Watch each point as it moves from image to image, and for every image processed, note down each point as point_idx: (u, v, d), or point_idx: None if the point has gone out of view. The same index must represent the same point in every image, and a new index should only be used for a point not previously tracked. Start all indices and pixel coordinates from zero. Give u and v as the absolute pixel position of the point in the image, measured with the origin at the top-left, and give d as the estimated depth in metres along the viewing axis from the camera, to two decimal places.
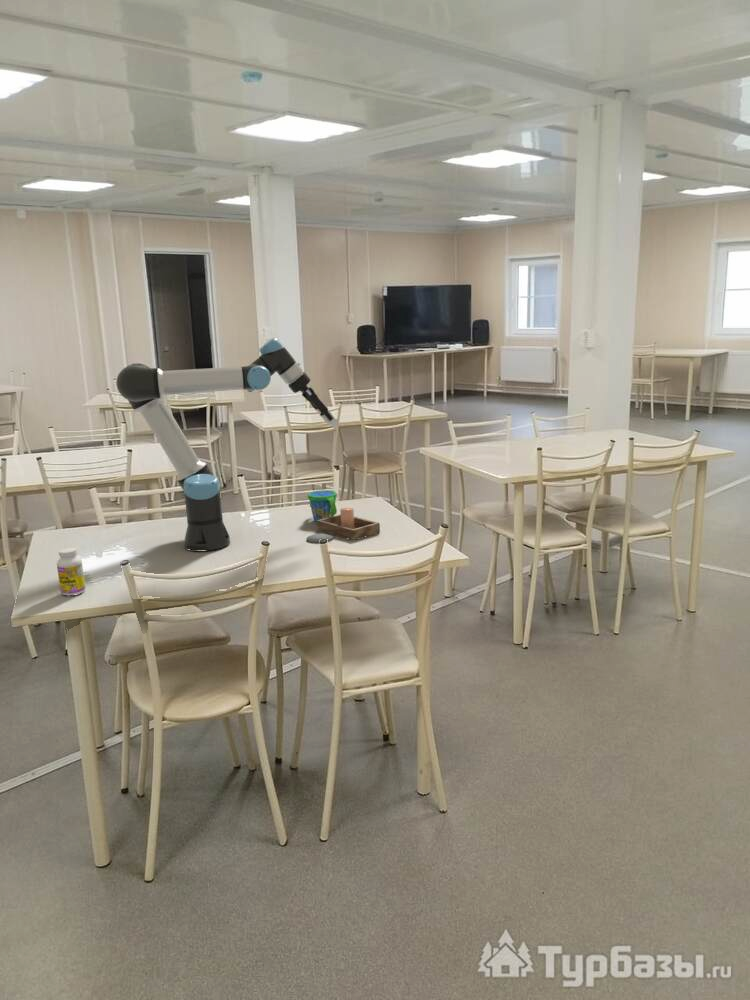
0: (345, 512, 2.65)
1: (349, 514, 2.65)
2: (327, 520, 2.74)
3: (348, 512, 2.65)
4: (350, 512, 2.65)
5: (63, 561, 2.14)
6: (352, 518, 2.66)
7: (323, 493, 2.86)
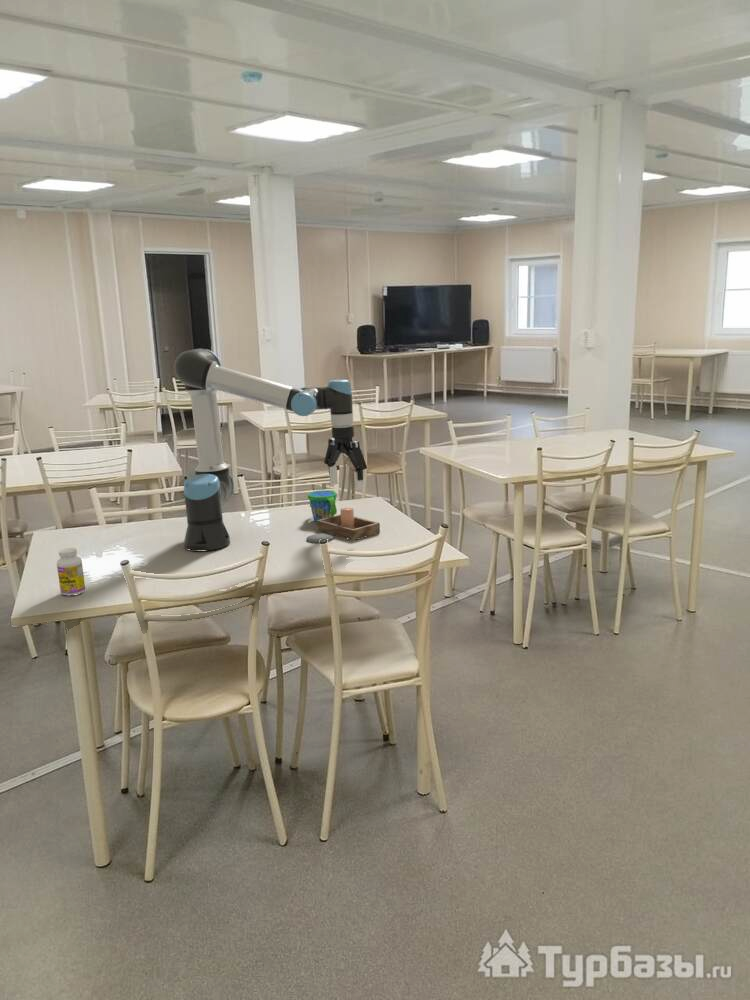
0: (345, 512, 2.65)
1: (349, 514, 2.65)
2: (327, 520, 2.74)
3: (348, 512, 2.65)
4: (350, 512, 2.65)
5: (63, 561, 2.14)
6: (352, 518, 2.66)
7: (323, 493, 2.86)
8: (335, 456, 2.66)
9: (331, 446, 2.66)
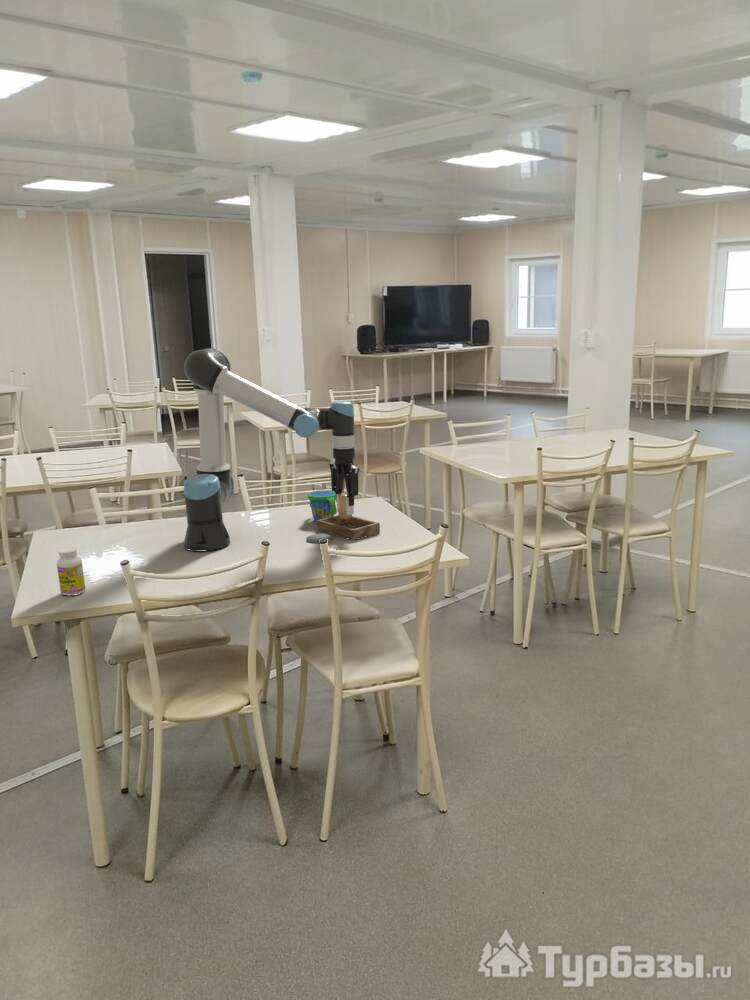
0: (343, 498, 2.64)
1: None
2: (327, 520, 2.74)
3: None
4: None
5: (63, 561, 2.14)
6: None
7: (323, 493, 2.86)
8: (339, 480, 2.66)
9: (333, 470, 2.67)
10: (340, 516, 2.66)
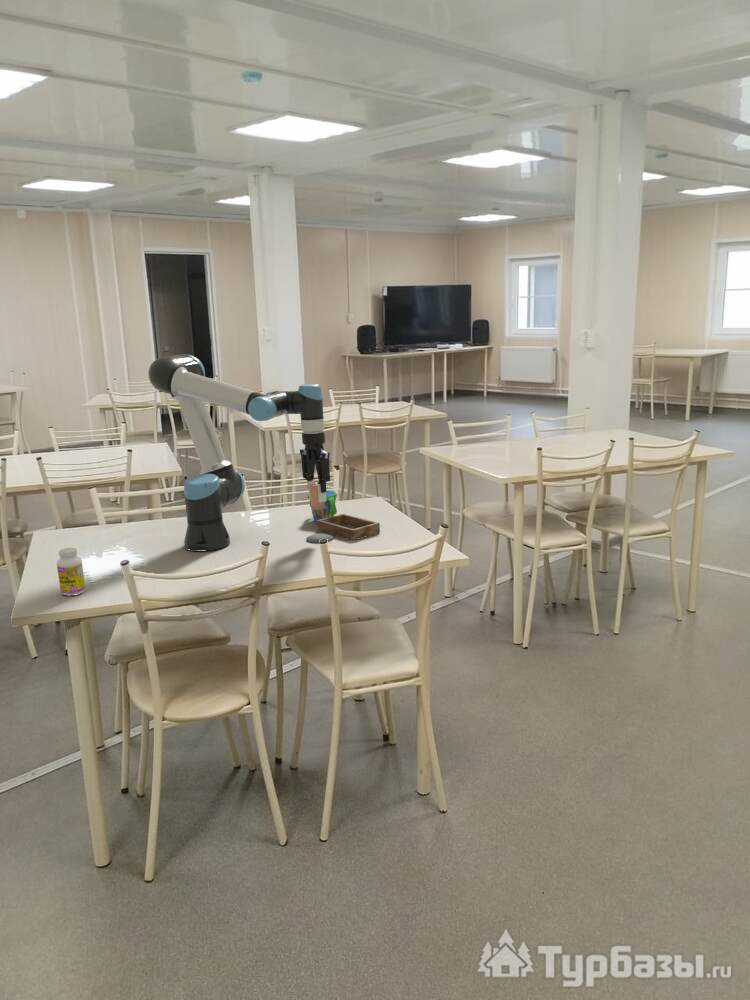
0: (314, 488, 2.54)
1: None
2: (327, 520, 2.74)
3: (317, 488, 2.54)
4: None
5: (63, 561, 2.14)
6: None
7: None
8: (310, 466, 2.56)
9: (304, 456, 2.57)
10: (312, 507, 2.57)
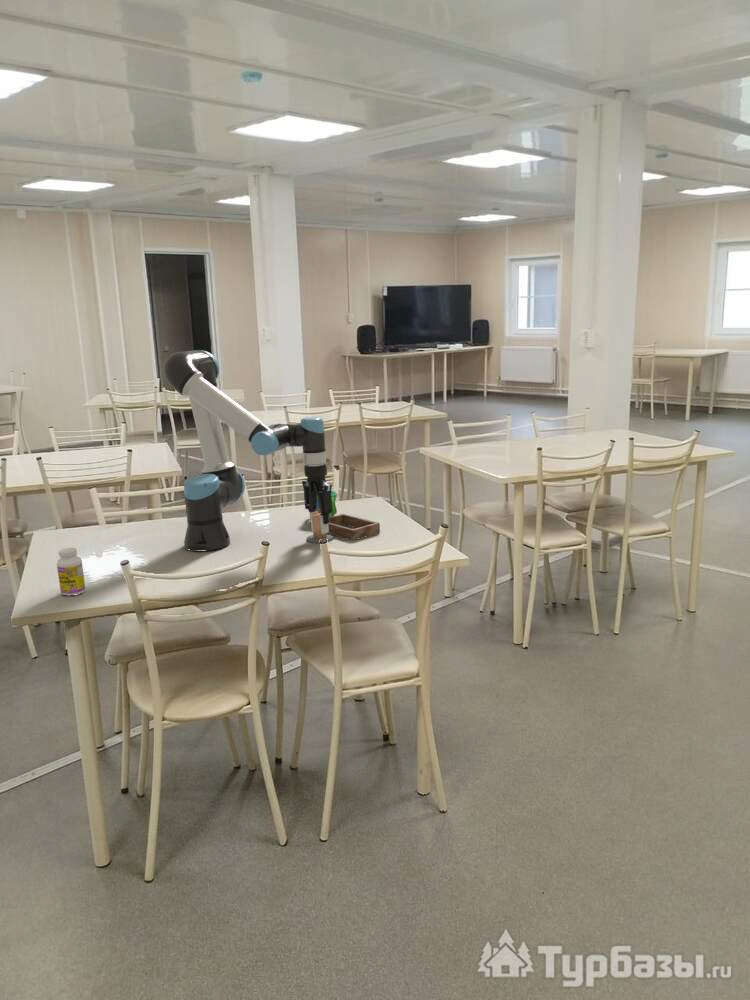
0: (316, 518, 2.57)
1: None
2: None
3: None
4: None
5: (63, 561, 2.14)
6: None
7: None
8: (312, 497, 2.59)
9: (306, 487, 2.60)
10: (315, 536, 2.59)
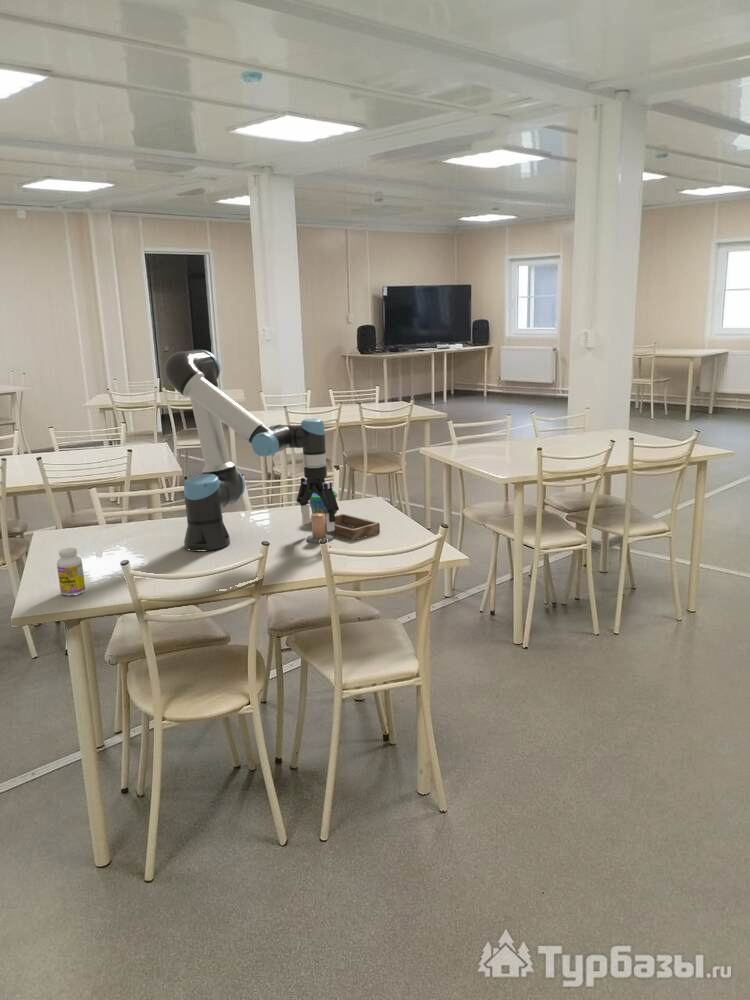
0: (316, 518, 2.57)
1: (320, 520, 2.57)
2: None
3: (319, 518, 2.57)
4: (321, 518, 2.57)
5: (63, 561, 2.14)
6: (323, 524, 2.58)
7: None
8: (307, 495, 2.60)
9: (304, 485, 2.61)
10: (314, 536, 2.59)
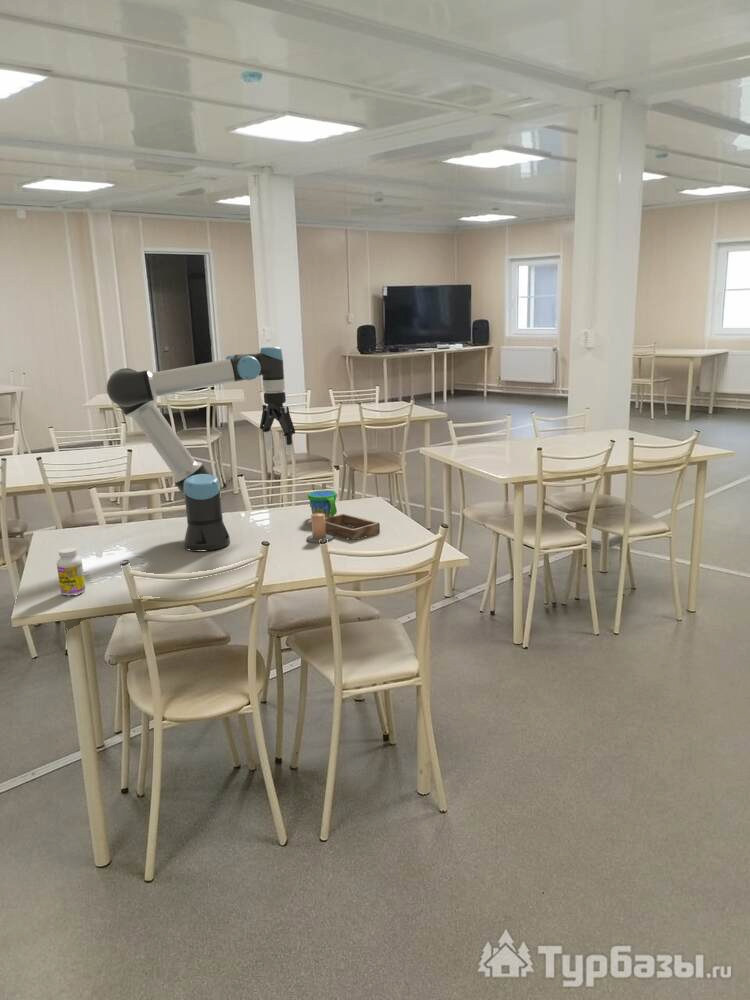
0: (316, 518, 2.57)
1: (320, 520, 2.57)
2: (327, 520, 2.74)
3: (319, 518, 2.57)
4: (321, 518, 2.57)
5: (63, 561, 2.14)
6: (323, 524, 2.58)
7: (323, 493, 2.86)
8: (269, 421, 2.74)
9: (265, 412, 2.74)
10: (314, 536, 2.59)
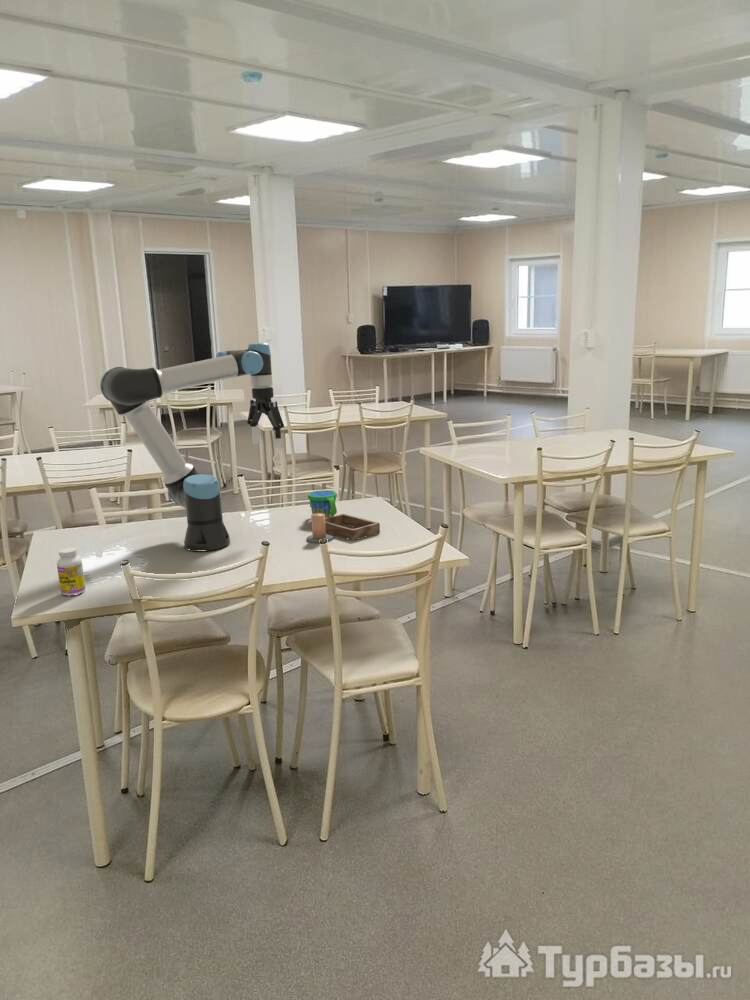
0: (316, 518, 2.57)
1: (320, 520, 2.57)
2: (327, 520, 2.74)
3: (319, 518, 2.57)
4: (321, 518, 2.57)
5: (63, 561, 2.14)
6: (323, 524, 2.58)
7: (323, 493, 2.86)
8: (256, 416, 2.80)
9: (253, 407, 2.80)
10: (314, 536, 2.59)
